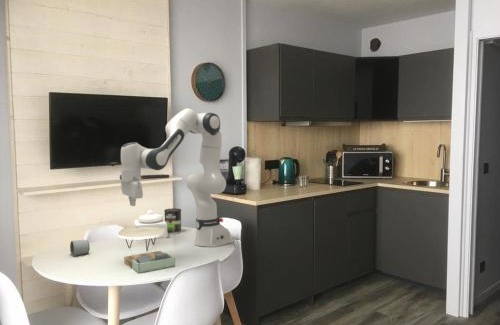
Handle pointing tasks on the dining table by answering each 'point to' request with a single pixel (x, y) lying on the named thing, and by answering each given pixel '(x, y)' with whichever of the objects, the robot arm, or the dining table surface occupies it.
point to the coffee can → (173, 220)
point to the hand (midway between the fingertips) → (132, 205)
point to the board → (134, 257)
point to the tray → (153, 264)
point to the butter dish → (152, 222)
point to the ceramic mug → (79, 247)
